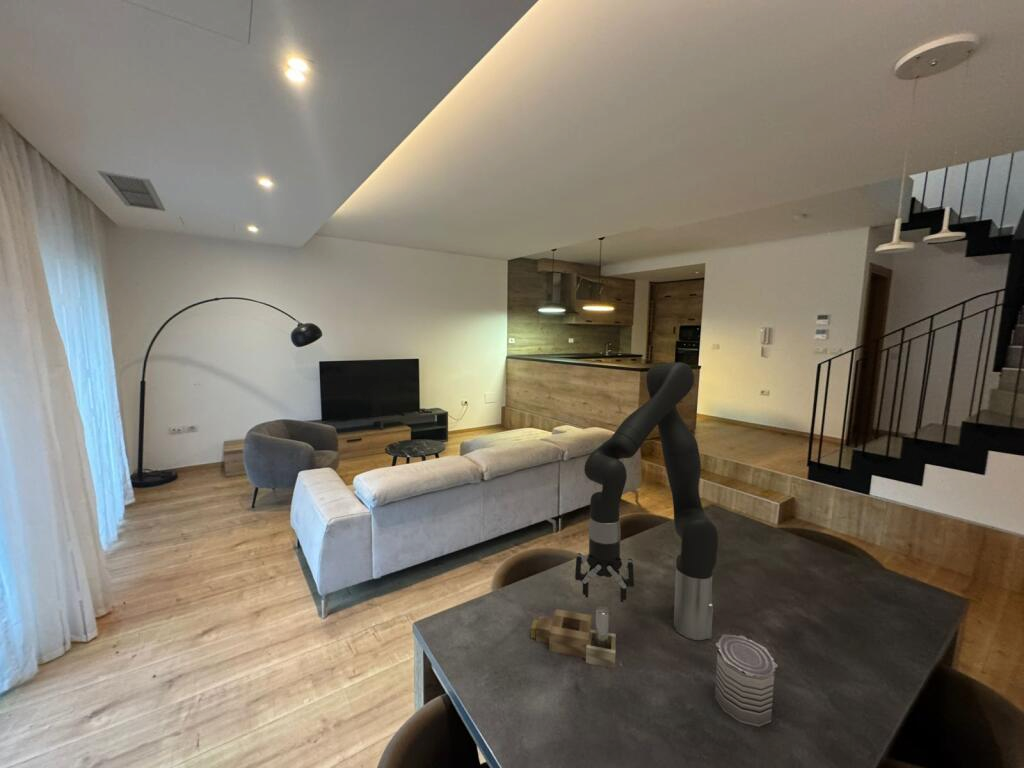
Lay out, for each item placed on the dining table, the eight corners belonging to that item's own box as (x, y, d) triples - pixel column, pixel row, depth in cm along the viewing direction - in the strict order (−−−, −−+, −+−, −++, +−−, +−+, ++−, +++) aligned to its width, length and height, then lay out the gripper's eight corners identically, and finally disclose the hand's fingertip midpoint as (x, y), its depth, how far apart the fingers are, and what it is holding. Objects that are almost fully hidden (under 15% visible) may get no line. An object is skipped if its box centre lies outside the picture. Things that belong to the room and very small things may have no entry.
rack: (615, 648, 106) (615, 634, 106) (614, 668, 99) (615, 653, 99) (588, 643, 108) (588, 629, 108) (585, 662, 101) (586, 647, 101)
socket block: (591, 632, 112) (591, 615, 112) (588, 658, 102) (588, 640, 102) (541, 623, 116) (541, 606, 115) (533, 647, 106) (534, 629, 106)
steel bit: (607, 652, 105) (609, 607, 104) (607, 661, 102) (608, 615, 101) (595, 649, 106) (596, 605, 105) (594, 658, 102) (595, 613, 101)
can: (751, 682, 96) (754, 633, 95) (786, 726, 84) (789, 672, 83) (704, 683, 95) (706, 634, 94) (732, 727, 84) (735, 673, 83)
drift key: (562, 634, 111) (563, 624, 111) (561, 643, 107) (561, 633, 107) (533, 628, 113) (533, 619, 113) (530, 637, 109) (530, 627, 109)
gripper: (633, 531, 103) (632, 593, 104) (576, 526, 106) (576, 586, 107) (635, 545, 95) (634, 611, 97) (574, 539, 99) (574, 603, 100)
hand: (604, 598), depth 102 cm, fingers open, 8 cm apart
